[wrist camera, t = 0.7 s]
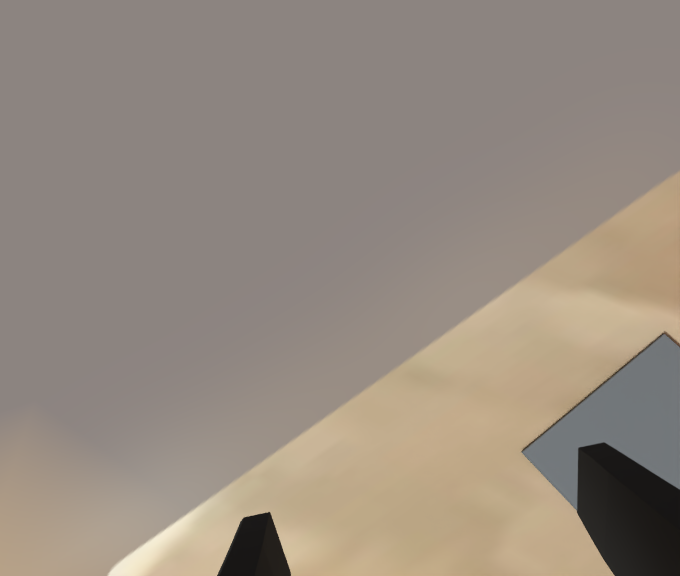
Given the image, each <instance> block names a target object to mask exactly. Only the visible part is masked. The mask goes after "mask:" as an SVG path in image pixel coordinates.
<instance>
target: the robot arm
mask: <svg viewBox="0 0 680 576" xmlns="http://www.w3.org/2000/svg"><path fill="white" fill-rule="evenodd" d="M577 513H578V515H579V517H580V519H581V521H582V522H583V524H584V526H585V528H586V530H587V531H588V533H589V535H590V537H591V539H592V540H593V542H594V544H595V545H596V547H597V549H598V551H599V552H600V554H601V556H602V557H603V559H604V561H605V562H606V564H607V565H608V566H609V568H610V569H611V571H612V572H613V574H614V575H615V576H680V489H678V488H676V487H675V486H673V485H672V484H670V483H668V482H667V481H665V480H664V479H662V478H661V477H659V476H657V475H656V474H654V473H653V472H651V471H649V470H648V469H646V468H645V467H643V466H642V465H640V464H638V463H637V462H635V461H634V460H632V459H630V458H629V457H627V456H626V455H624V454H623V453H621V452H619V451H618V450H616V449H615V448H613V447H611V446H610V445H608V444H606V443H605V442H603V443H598V444H593V445H588V446H584V447H579V448H578V489H577ZM217 576H291V572H290V569H289V566H288V563H287V560H286V557H285V554H284V552H283V549H282V546H281V543H280V540H279V537H278V534H277V531H276V528H275V525H274V522H273V519H272V516H271V514H270V512H268V513H263V514H258V515H254V516H249V517H244V518H243V519H242V521H241V522H240V525H239V527H238V529H237V532H236V534H235V536H234V539H233V541H232V544H231V546H230V548H229V550H228V553H227V555H226V557H225V560H224V562H223V564H222V566H221V568H220V571H219V573H218V575H217Z"/></svg>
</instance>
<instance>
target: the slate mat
mask: <svg viewBox="0 0 680 576" xmlns="http://www.w3.org/2000/svg"><path fill="white" fill-rule="evenodd" d="M603 442H605V443H606V444H608V445H610V446H611V447H613V448H615V449H616V450H618V451H619V452H621V453H623V454H624V455H626V456H627V457H629V458H630V459H632V460H634V461H635V462H637V463H638V464H640V465H642V466H643V467H645V468H646V469H648V470H649V471H651V472H653V473H654V474H656V475H657V476H659V477H661V478H662V479H664V480H665V481H667V482H668V483H670V484H672V485H673V486H675V487H676V488H678V489H680V347H679V346H678V345H676V344H675V343H674V342H673V341H672V340H671V339H670V338H669V337H667V336H666V335H665V334H663V335H661V336H660V337H659V338H658V339H657V340H655V341H654V342H653V343H652V344H651V345H649V346H648V347H647V348H646V349H645V350H643V351H642V352H641V353H640V354H638V355H637V356H636V357H635V358H634V359H632V360H631V361H630V362H629V363H628V364H626V365H625V366H624V367H623V368H622V369H620V370H619V371H618V372H617V373H616V374H614V375H613V376H612V377H611V378H610V379H608V380H607V381H606V382H605V383H604V384H602V385H601V386H600V387H599V388H598V389H596V390H595V391H594V392H593V393H592V394H590V395H589V396H588V397H587V398H586V399H584V400H583V401H582V402H581V403H580V404H578V405H577V406H576V407H575V408H574V409H572V410H571V411H570V412H569V413H567V414H566V415H565V416H564V417H563V418H561V419H560V420H559V421H558V422H557V423H555V424H554V425H553V426H552V427H551V428H549V429H548V430H547V431H546V432H545V433H543V434H542V435H541V436H540V437H539V438H537V439H536V440H535V441H534V442H533V443H531V444H530V445H529V446H528V447H527V448H525V449H524V450H523V451H522V453H523V454H524V455H525V457H526V458H527V459H528V460H529V461H530V462H531V463H532V464H533V465H534V466H535V467H536V468H537V469H538V470H539V471H540V472H541V473H542V474H543V475H544V476H545V478H546V479H547V480H548V481H549V482H550V483H551V484H552V485H553V486H554V487H555V488H556V489H557V490H558V491H559V492H560V493H561V494H562V495H563V496H564V498H565V499H566V500H567V501H568V502H569V503H570V504H571V505H572V506H573V507H574V508H575V509H576V510H577V489H578V448H579V447H584V446H588V445H593V444H598V443H603Z"/></svg>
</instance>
